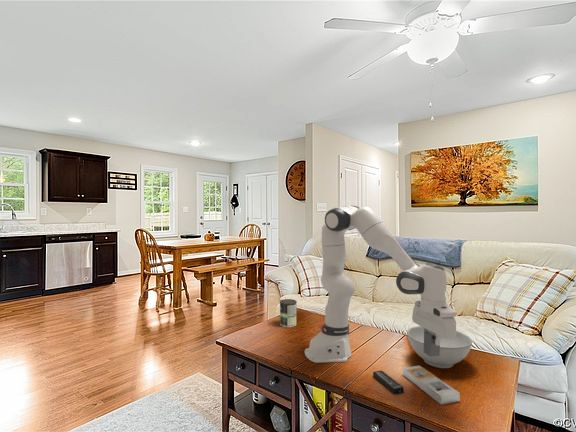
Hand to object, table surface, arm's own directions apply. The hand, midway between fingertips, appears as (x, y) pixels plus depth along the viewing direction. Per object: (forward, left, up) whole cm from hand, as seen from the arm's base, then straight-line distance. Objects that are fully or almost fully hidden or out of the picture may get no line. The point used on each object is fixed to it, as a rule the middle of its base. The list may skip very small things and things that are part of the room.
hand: (431, 342), depth 125 cm
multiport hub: (-14, +8, -19) cm, 25 cm away
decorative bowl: (+19, +19, -19) cm, 33 cm away
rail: (0, +2, -18) cm, 18 cm away
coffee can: (-33, +86, -19) cm, 93 cm away
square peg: (0, 0, -5) cm, 5 cm away
